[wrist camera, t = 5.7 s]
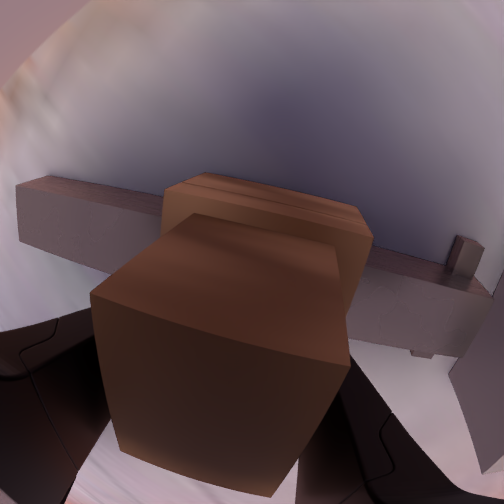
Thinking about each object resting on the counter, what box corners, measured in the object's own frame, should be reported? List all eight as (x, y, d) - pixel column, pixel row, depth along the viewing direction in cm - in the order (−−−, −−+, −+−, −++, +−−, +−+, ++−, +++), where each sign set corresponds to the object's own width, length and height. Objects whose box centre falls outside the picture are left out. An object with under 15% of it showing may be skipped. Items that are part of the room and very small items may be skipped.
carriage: (189, 301, 14) (92, 443, 7) (205, 172, 12) (43, 248, 4) (316, 333, 14) (302, 508, 6) (356, 206, 11) (427, 350, 4)
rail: (51, 250, 16) (22, 266, 14) (49, 148, 13) (15, 155, 11) (433, 350, 14) (446, 382, 11) (483, 244, 11) (509, 266, 9)
